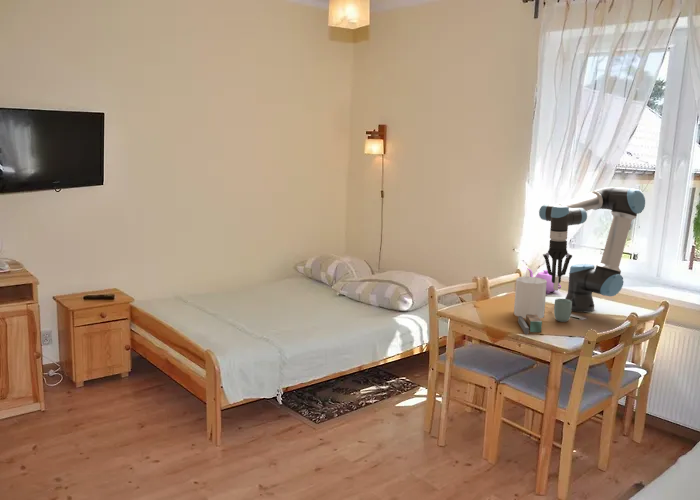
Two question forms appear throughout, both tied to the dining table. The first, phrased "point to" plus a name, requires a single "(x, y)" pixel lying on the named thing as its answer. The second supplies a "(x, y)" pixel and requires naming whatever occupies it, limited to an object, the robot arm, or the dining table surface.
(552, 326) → the dining table surface
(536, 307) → the container
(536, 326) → the brown and green block
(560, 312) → the cup
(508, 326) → the dining table surface
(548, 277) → the teapot
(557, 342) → the dining table surface
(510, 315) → the dining table surface
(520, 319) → the rail
